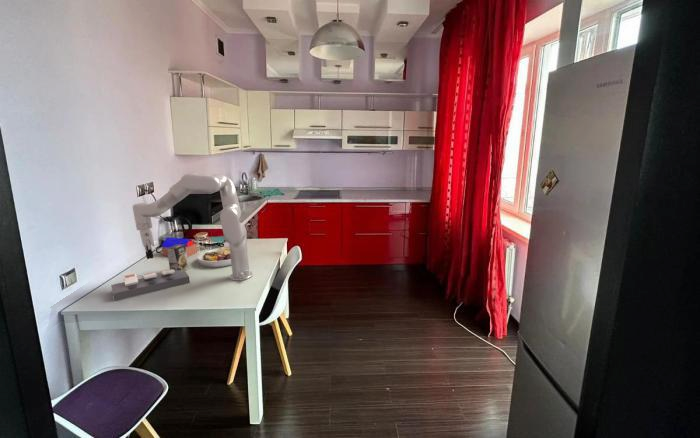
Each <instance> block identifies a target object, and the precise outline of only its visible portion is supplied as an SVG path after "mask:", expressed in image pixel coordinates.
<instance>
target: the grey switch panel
mask: <svg viewBox="0 0 700 438" xmlns="http://www.w3.org/2000/svg"><path fill="white" fill-rule="evenodd" d="M137 279H138V283H139V284H134V285H130V286H125V282H119V283H118V282H117V283H114V284H111V292H112V296H113V297H112V298H113V301H114V302H116V301H122V300H125V299H129V298H133V297H137V296H142V295H146V294H149V293H154V292H158V291H162V290H167V289H172V288H175V287H179V286H184V285H188V283H189V284H191V281H190V276H189V274H188V273H187V272H186V271H185V270H184V269H183V270H178V271H175V272H174V273H173V274H168V275H164V276H163V275H162V274H161V273H160V274H157V277H154V278H150V279H145V280H144V278H143V277H142V278H137Z"/></svg>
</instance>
